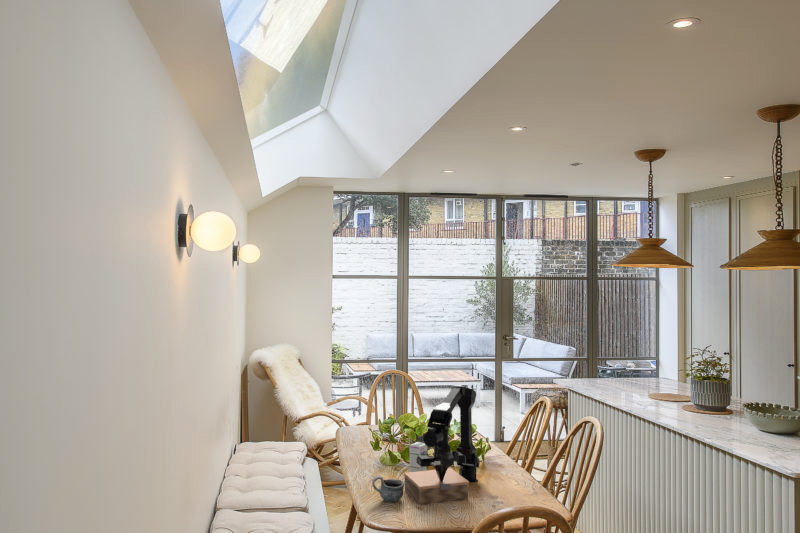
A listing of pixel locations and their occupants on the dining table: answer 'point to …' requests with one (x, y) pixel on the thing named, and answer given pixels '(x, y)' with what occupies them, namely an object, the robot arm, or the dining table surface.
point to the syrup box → (416, 451)
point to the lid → (435, 479)
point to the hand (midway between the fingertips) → (441, 481)
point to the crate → (436, 493)
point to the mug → (390, 489)
